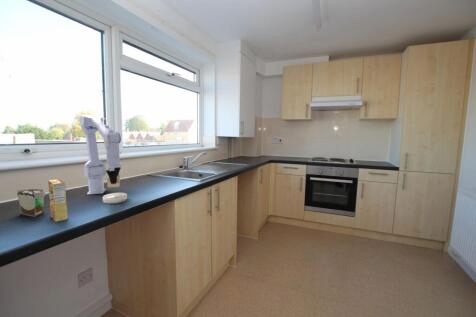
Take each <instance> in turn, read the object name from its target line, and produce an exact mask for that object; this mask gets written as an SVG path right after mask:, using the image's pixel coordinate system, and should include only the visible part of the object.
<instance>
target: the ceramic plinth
mask: <svg viewBox="0 0 476 317" xmlns="http://www.w3.org/2000/svg"><path fill="white" fill-rule="evenodd" d="M126 201H128V194H127V193H126V192H112V193H108V194H105V195H103V196H102V202H103V203H104V204H110V205H111V204H120V203H123V202H126Z"/></svg>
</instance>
